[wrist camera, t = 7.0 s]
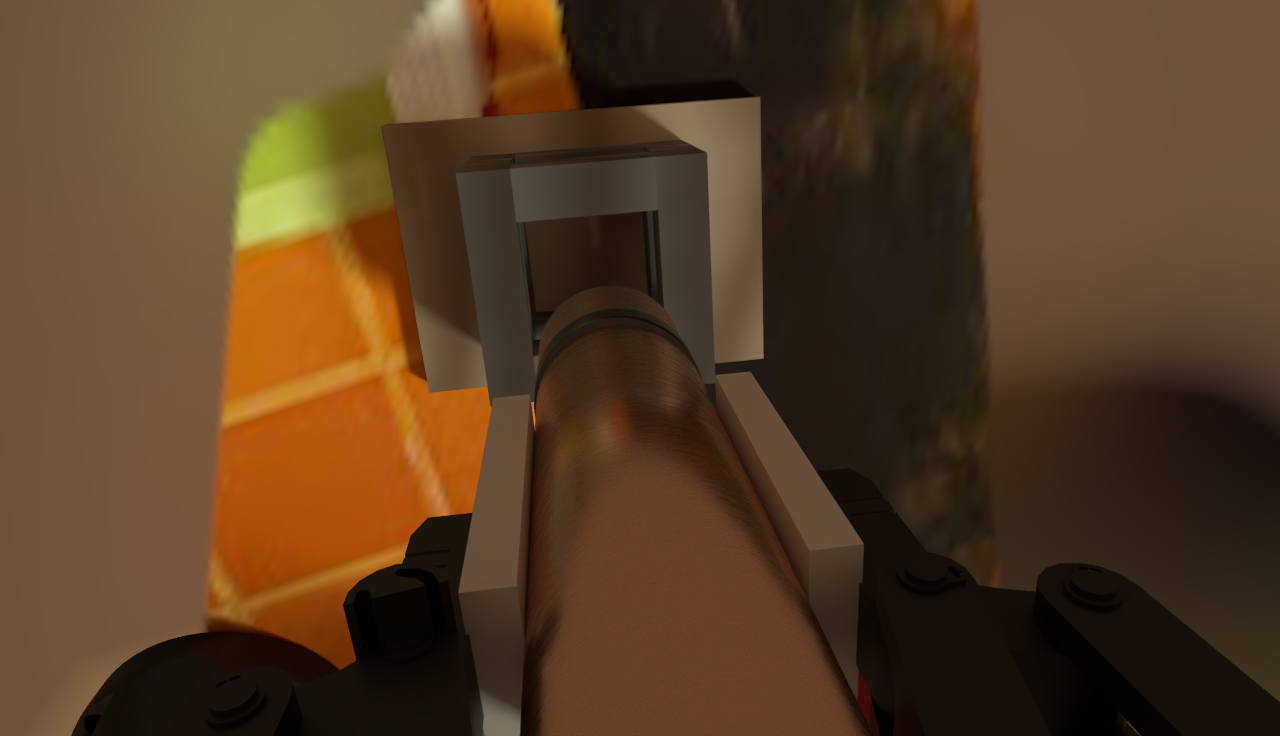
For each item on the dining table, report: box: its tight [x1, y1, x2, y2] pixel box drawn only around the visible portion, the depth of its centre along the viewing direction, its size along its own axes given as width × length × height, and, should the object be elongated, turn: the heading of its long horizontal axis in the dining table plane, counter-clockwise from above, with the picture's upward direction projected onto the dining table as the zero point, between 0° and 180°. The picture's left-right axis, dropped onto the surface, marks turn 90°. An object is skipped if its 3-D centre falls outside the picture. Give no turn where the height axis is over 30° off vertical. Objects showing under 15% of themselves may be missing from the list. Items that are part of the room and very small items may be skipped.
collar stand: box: [381, 96, 763, 406], centre depth 33 cm, size 16×12×7 cm
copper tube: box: [520, 285, 874, 736], centre depth 14 cm, size 4×4×18 cm
